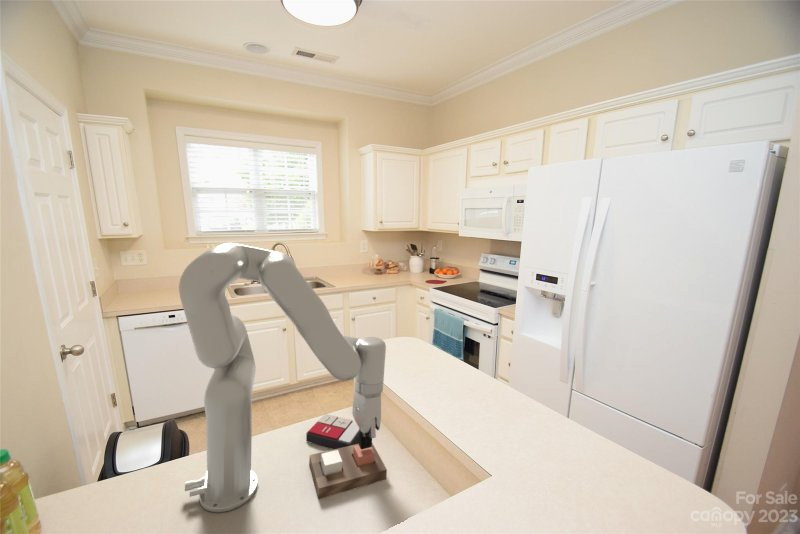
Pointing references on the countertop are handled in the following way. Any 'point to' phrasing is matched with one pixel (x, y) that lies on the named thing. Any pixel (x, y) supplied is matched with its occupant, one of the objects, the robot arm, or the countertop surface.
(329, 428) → the calculator
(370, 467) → the key panel
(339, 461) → the white key
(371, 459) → the salmon pink key
